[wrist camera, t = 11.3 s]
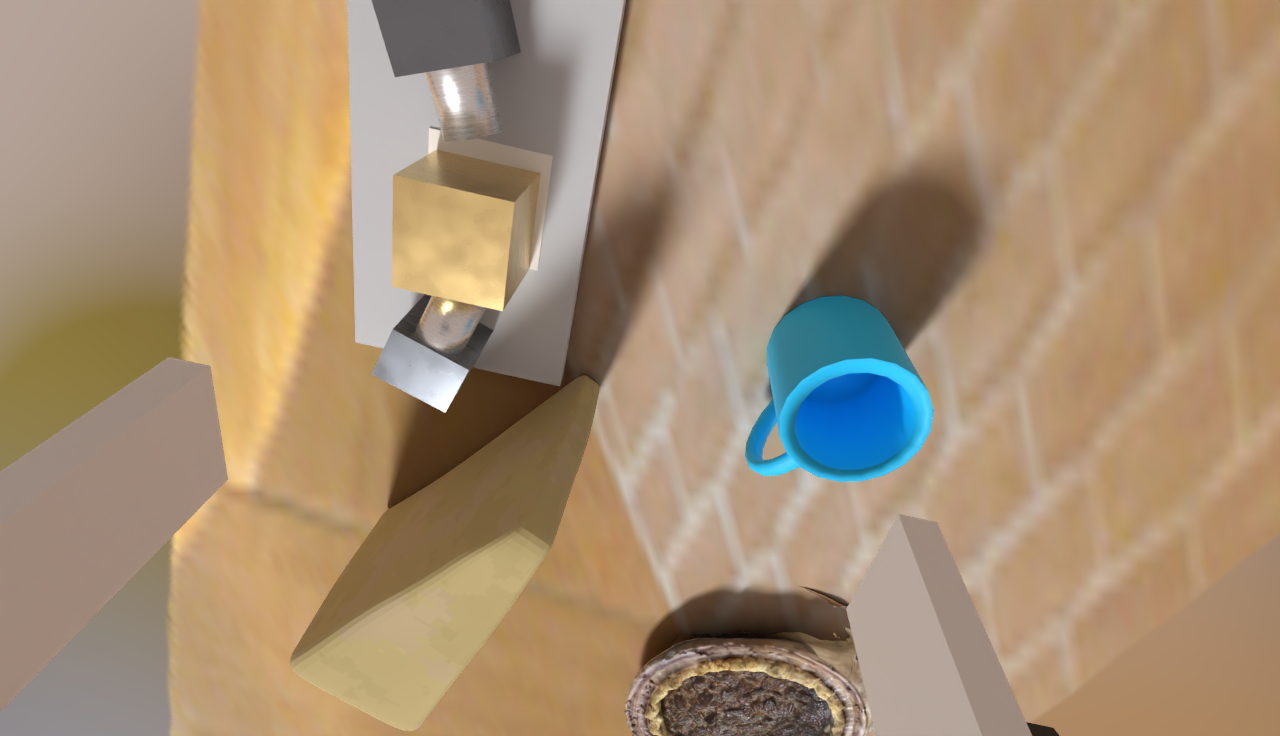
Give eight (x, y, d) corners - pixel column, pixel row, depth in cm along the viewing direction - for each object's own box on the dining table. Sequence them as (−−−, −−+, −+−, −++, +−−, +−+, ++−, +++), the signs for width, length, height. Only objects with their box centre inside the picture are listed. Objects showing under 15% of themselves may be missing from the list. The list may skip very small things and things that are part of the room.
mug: (833, 269, 40) (861, 328, 33) (921, 347, 42) (966, 419, 35) (701, 393, 45) (701, 467, 38) (786, 457, 47) (801, 539, 40)
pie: (741, 795, 70) (743, 847, 66) (536, 675, 63) (524, 725, 59) (961, 681, 58) (981, 736, 54) (737, 518, 51) (740, 566, 47)
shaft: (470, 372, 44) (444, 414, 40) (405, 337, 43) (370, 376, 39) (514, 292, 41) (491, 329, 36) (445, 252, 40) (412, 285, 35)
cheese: (538, 332, 44) (468, 474, 31) (647, 416, 46) (625, 580, 33) (379, 510, 53) (274, 676, 40) (477, 571, 56) (408, 746, 43)
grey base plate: (356, -81, 33) (344, -84, 32) (628, -17, 33) (626, -17, 32) (363, 334, 45) (354, 342, 44) (563, 377, 45) (559, 387, 44)
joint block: (432, 248, 40) (391, 286, 35) (436, 149, 37) (392, 174, 32) (528, 270, 40) (502, 311, 35) (540, 173, 37) (514, 202, 32)
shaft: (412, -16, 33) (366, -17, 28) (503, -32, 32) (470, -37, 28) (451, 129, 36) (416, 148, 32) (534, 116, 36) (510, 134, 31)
